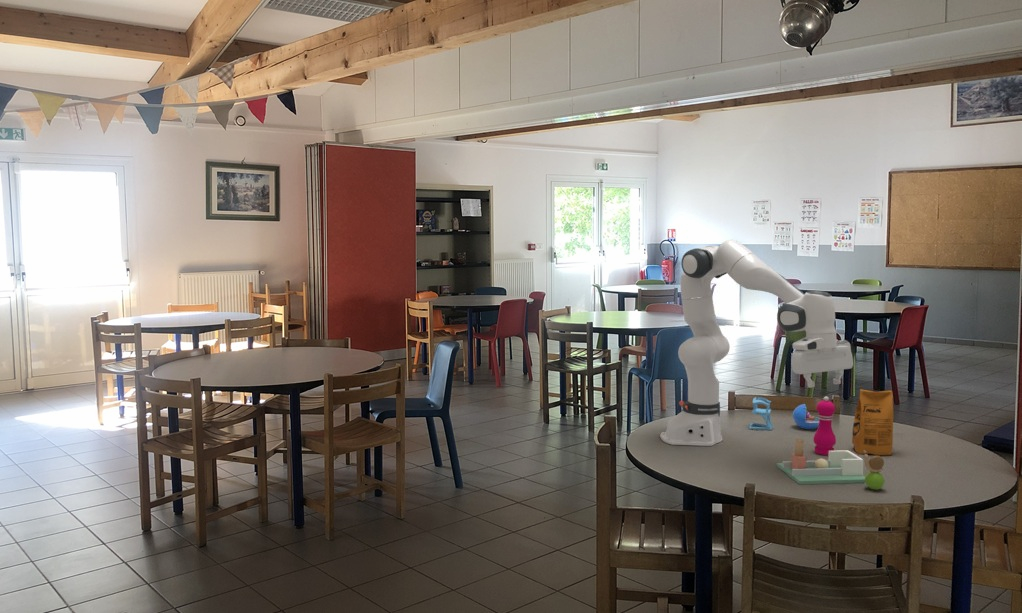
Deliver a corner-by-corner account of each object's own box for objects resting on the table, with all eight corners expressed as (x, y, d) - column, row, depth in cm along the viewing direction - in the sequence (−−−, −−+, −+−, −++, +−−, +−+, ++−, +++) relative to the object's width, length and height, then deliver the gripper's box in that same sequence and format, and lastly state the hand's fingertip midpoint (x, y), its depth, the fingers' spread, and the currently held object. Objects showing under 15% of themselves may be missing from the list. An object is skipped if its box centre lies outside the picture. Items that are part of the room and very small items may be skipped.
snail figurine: (857, 486, 237) (859, 448, 236) (877, 485, 238) (879, 447, 237) (867, 492, 232) (869, 453, 231) (887, 492, 233) (889, 452, 231)
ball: (818, 473, 247) (818, 460, 247) (812, 468, 251) (813, 456, 251) (830, 472, 247) (830, 460, 247) (824, 468, 251) (825, 456, 251)
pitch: (799, 484, 240) (799, 465, 239) (776, 465, 258) (777, 448, 257) (869, 482, 241) (869, 463, 240) (841, 464, 259) (842, 446, 258)
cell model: (826, 433, 296) (827, 408, 295) (792, 430, 300) (793, 406, 299) (823, 426, 306) (824, 402, 305) (791, 424, 309) (792, 400, 308)
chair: (771, 431, 299) (771, 401, 297) (748, 429, 302) (749, 399, 301) (773, 426, 306) (774, 396, 304) (751, 424, 309) (752, 395, 308)
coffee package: (850, 446, 279) (852, 386, 277) (888, 448, 276) (890, 387, 273) (855, 454, 269) (857, 392, 267) (894, 457, 266) (897, 393, 264)
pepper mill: (837, 456, 268) (839, 399, 265) (815, 455, 269) (817, 398, 267) (833, 450, 275) (835, 394, 272) (811, 449, 276) (813, 393, 274)
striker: (797, 473, 246) (798, 442, 245) (791, 468, 251) (792, 437, 250) (805, 472, 246) (806, 442, 245) (799, 467, 251) (800, 437, 250)
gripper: (843, 338, 251) (845, 381, 252) (787, 344, 246) (790, 387, 247) (856, 339, 245) (859, 383, 246) (800, 345, 240) (802, 390, 241)
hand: (824, 385), depth 246 cm, fingers open, 8 cm apart
